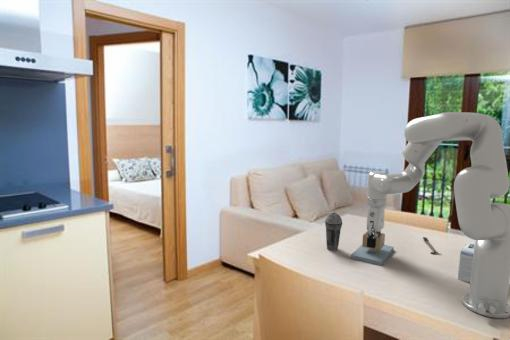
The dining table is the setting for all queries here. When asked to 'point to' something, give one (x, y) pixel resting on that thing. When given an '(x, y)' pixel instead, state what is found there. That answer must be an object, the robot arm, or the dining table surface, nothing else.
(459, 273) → the light bulb box
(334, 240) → the beverage cup
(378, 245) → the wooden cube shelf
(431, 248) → the tactical tomahawk
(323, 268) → the dining table surface
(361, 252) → the post board
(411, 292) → the dining table surface
